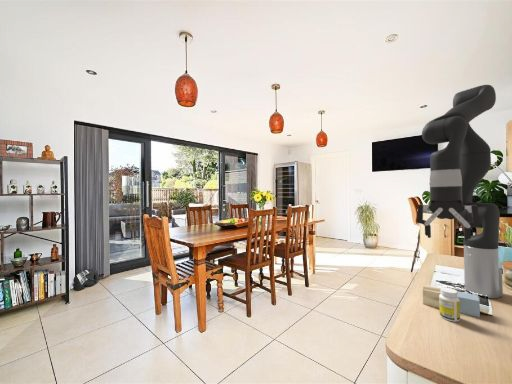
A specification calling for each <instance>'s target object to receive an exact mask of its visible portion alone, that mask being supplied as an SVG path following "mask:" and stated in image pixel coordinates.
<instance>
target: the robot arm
mask: <svg viewBox="0 0 512 384" xmlns="http://www.w3.org/2000/svg"><path fill="white" fill-rule="evenodd" d="M496 102H497V95H496V90H495V88H494V86H493V85H491V84H482V85H478V86H474V87H471V88H469V89H464V90H461V91H459V92H456V93H455V94H454V96H453V99H452V108H450V109H449V110H448V111H447V112H445V113H444V114H442V115H441V116H438V117H436V118H433V119H431V120H429V121H428V122H427V123H426V124H425V125H424V126H423V128H422V130H421V131H422V132H421V137H422V140H423V142H425V143H426V144H429V145H438V144H444V143H447V145H446V147H444V148H442V149H440V150H437V151H434V152H432V153H431V154H430V157H429V163H430V165H429V166H430V169H429V170H430V172H429V173H430V174H429V199H430V201H429V204H422V203H420V204H418V206H417V221H416V222H417V224H421V225H423V226H424V235H425V236H426V237H427V238H429V239H431V237H432V225H431V223H432V222H433V221H434V220H435V219H436V218H437V219H439V220H445V219H447V220H455V219H457V221H458V223H459V225H460V226H462V227H463V268H464V270H463V271H464V273H463V275H464V290H465V289H466V290H468V291H471V292H474V293H478V294H484V295H487V296H488V298H487V299H499V298H500V297H504V296H503V295H504V293H503V291H504V289H503V285H504V284H503V270H502V269H501V268H500V265H499V260H500V258H499V256H500V255H499V254H500V253H499V243H500V242H499V241H500V216H501V213H500V210H499V209H500V208H499V207H498V205H497V204H495V203H493V202H490V203H489V202H473V195H474V193H475V189H476V188H477V186H478V185H479V183H480V182H481V181H482V180H483V179H484V177H485V176H486V175H487V174H488V172H489V171H490V169H491V166H492V157H491V156H492V155H491V153H492V152H491V147H490V145H489V144H488V143H487V142H486V140H484V139H483V137H482V136H480V135H479V134H478V133H477V132H476V131H475V130H474V129H473V128H472V126H471V124H470V122H471V121H472V120H474V119H475V118H477V117H478V116H480V115H482V114H483V113H485V112H487V111H489V110H491V109H492V108H493V107H494V106H495V104H496ZM427 209H429V211H430V212H431V213H432V214H431V215H430V216H429V217H428V218H427V219H426V220H425V219H424V212H426V211H427ZM472 228H477V229H482V231H481V233H479V234H475V235H472V231H471V230H472ZM466 290H465V291H466Z"/></svg>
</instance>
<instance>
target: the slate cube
mask: <svg viewBox="0 0 512 384" xmlns="http://www.w3.org/2000/svg"><path fill="white" fill-rule="evenodd" d="M456 291H457V293H458V298H459V300H460V314H463V315H467V316H472V317H476V318H480V317H481V313H480V312H481V306H480V305H481V304H480V302H481V301H480V296H478V295H474V294H471V293H468V292H462V291H458V290H456Z"/></svg>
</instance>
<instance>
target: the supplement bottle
mask: <svg viewBox="0 0 512 384" xmlns="http://www.w3.org/2000/svg"><path fill="white" fill-rule="evenodd" d="M440 288H441V289H440V293H441V294H440V295H439V307H440V308H439V316H440V317H441V318H442V319H444V320H446V321H449V322H454V323H455V322H460V320H461V313H460V300H459V298H458V293H457V291H458V290H456V289H454V288H451V287H440Z"/></svg>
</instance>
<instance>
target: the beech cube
mask: <svg viewBox="0 0 512 384" xmlns="http://www.w3.org/2000/svg"><path fill="white" fill-rule="evenodd" d="M441 288H442V287H439V286H438V287H437V286H431V285H427V284H423V288H422V304H423V305H424V306H429V307H433V308H438V309H440V307H439V295H440V294H441V293H440V289H441Z"/></svg>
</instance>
